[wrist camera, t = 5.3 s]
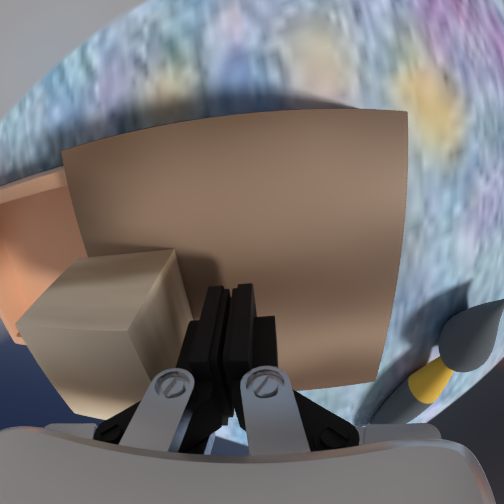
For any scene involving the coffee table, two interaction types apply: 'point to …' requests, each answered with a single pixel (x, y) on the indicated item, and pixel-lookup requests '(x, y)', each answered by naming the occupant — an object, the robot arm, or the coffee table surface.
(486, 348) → the paintbrush
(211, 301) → the robot arm
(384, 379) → the coffee table surface
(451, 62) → the coffee table surface
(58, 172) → the tray
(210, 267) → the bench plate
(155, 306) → the beech block
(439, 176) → the coffee table surface
